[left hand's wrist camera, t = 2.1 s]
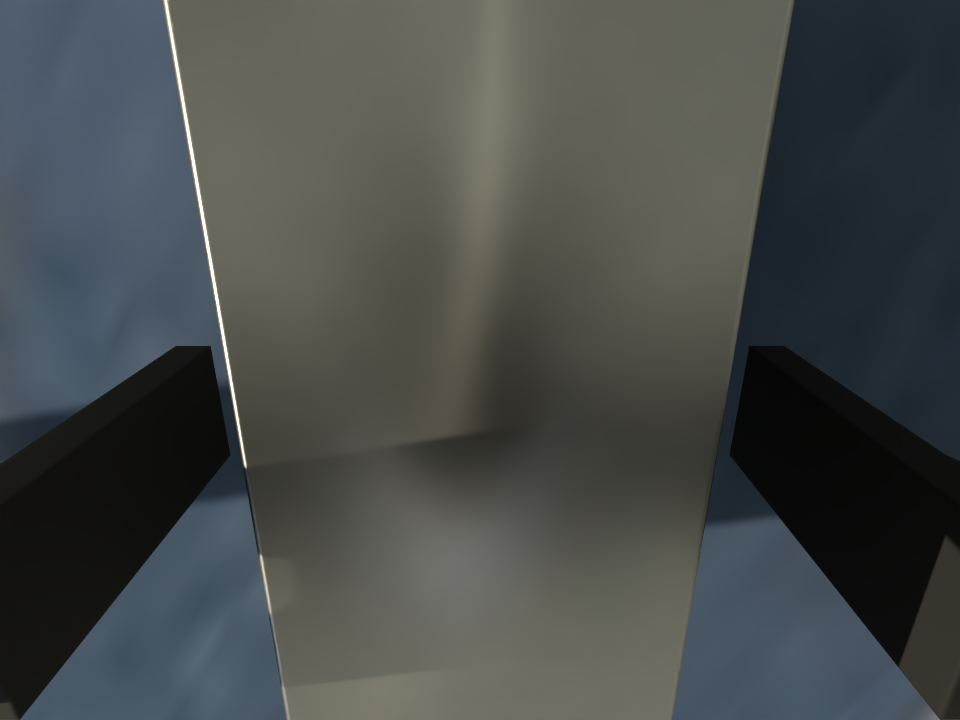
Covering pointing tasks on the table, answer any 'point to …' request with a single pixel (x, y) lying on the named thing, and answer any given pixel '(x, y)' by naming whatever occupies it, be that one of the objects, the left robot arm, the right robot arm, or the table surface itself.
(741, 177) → the bar
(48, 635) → the left robot arm
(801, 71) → the table surface
